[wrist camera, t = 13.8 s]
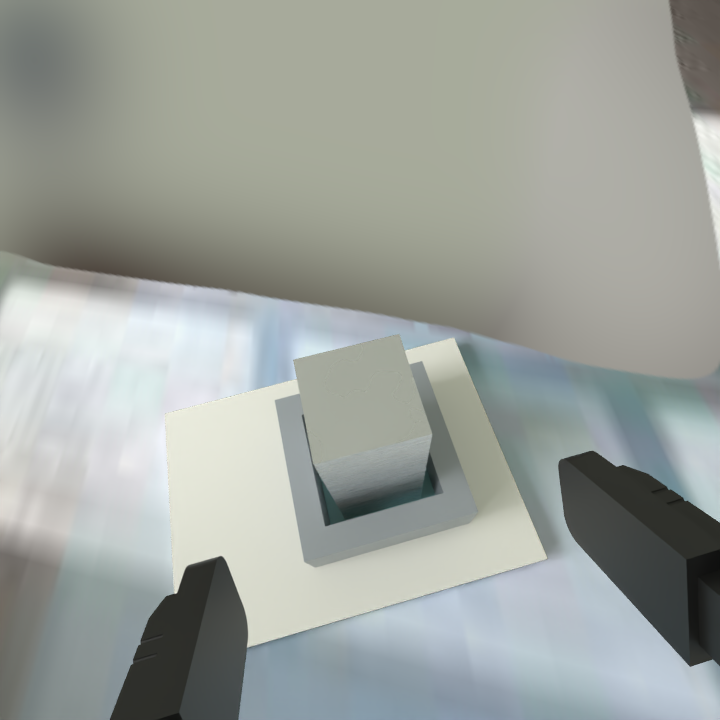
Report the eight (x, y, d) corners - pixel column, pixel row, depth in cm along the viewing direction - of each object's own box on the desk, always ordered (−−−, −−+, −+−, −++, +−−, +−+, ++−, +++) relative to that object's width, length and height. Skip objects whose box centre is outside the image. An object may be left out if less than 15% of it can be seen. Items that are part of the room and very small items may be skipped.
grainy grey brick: (344, 518, 24) (312, 464, 15) (329, 445, 26) (293, 359, 17) (420, 499, 24) (432, 434, 15) (399, 428, 26) (399, 333, 17)
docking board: (188, 665, 22) (146, 675, 19) (173, 420, 28) (139, 392, 25) (541, 561, 23) (567, 551, 20) (452, 347, 29) (459, 309, 26)
